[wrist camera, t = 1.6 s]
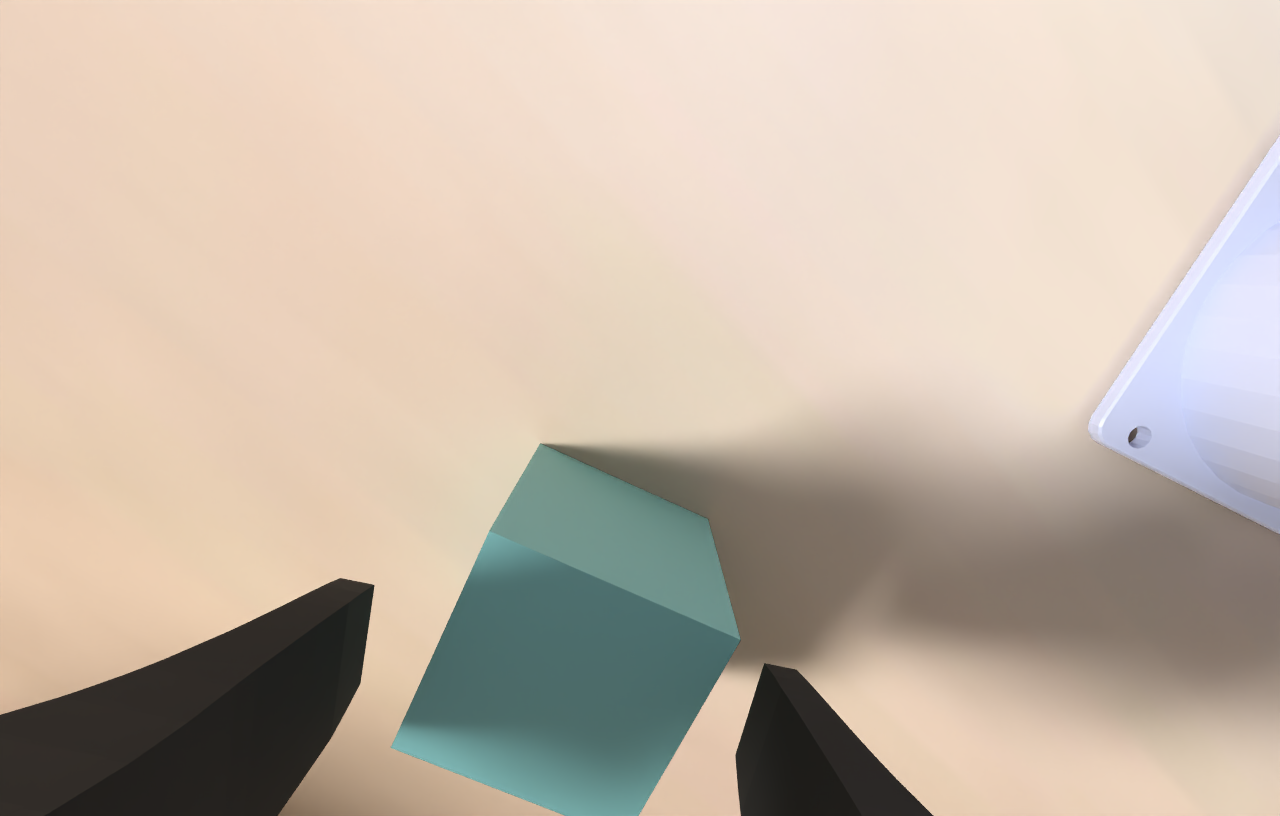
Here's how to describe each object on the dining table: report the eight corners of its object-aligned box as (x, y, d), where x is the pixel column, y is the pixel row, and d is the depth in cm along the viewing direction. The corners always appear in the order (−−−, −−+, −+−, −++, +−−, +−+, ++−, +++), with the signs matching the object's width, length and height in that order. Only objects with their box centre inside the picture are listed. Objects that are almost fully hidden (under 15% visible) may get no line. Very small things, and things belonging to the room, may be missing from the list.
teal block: (707, 517, 15) (740, 639, 10) (629, 662, 16) (625, 838, 11) (540, 442, 14) (489, 531, 9) (470, 594, 15) (390, 747, 10)
